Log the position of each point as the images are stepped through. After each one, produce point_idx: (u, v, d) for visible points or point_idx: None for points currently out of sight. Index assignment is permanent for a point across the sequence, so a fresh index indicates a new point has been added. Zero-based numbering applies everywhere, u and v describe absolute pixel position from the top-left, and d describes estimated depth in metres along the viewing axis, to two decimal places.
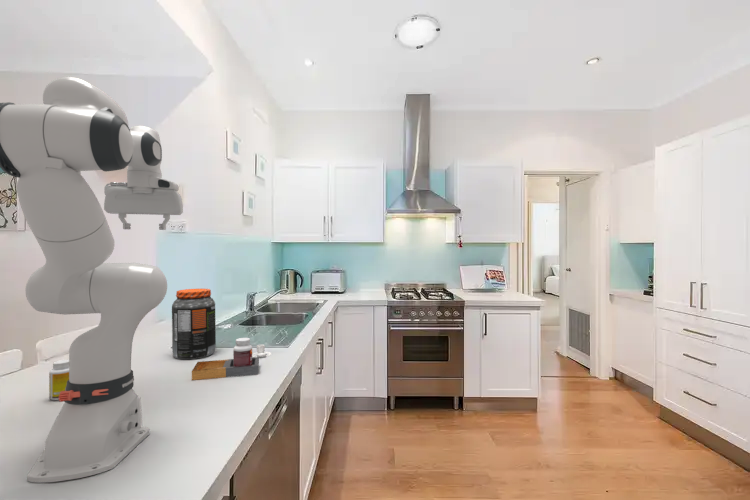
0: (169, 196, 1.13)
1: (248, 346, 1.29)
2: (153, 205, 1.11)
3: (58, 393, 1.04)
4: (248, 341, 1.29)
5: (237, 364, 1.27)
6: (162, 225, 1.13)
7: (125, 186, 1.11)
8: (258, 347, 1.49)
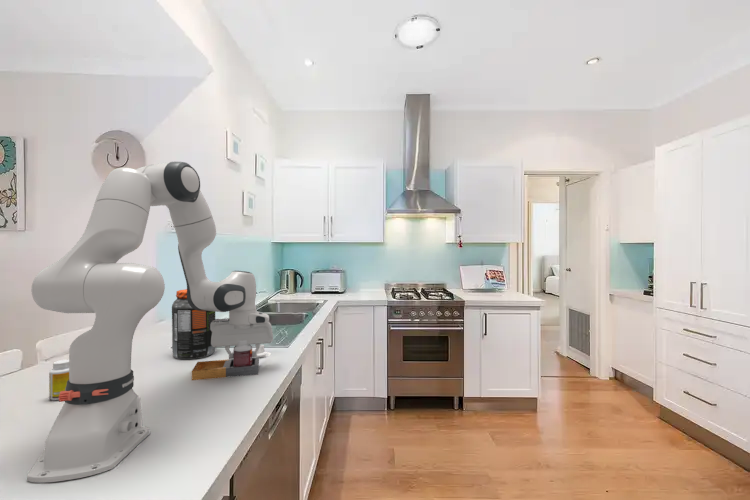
0: (263, 328, 1.30)
1: (248, 346, 1.29)
2: (251, 337, 1.29)
3: (58, 393, 1.04)
4: None
5: (237, 364, 1.27)
6: (254, 353, 1.30)
7: (227, 322, 1.28)
8: None
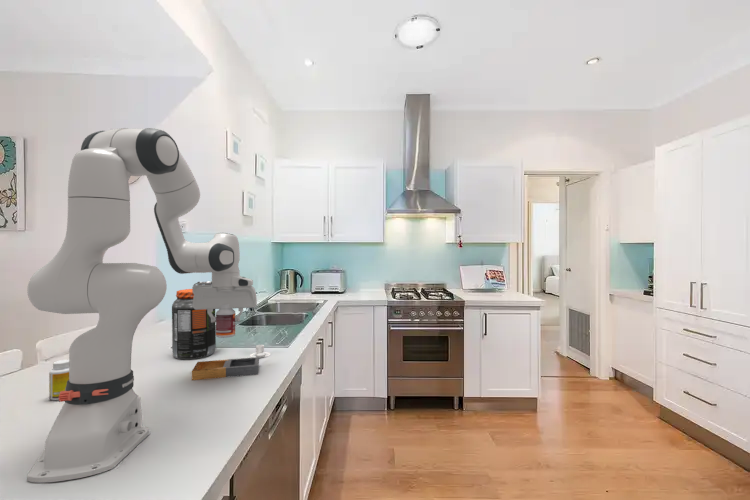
0: (246, 292, 1.28)
1: (231, 310, 1.27)
2: (233, 301, 1.27)
3: (58, 393, 1.04)
4: None
5: (220, 328, 1.25)
6: (237, 318, 1.28)
7: (210, 285, 1.26)
8: (257, 347, 1.48)
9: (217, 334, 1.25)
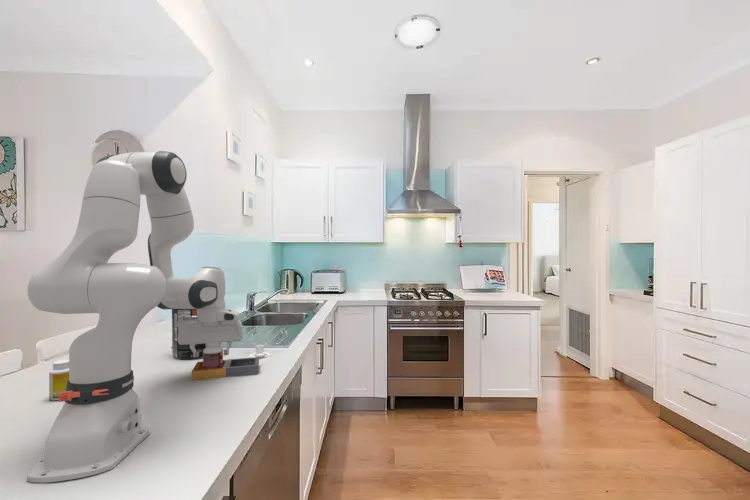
0: (232, 326, 1.27)
1: (218, 348, 1.26)
2: (219, 335, 1.26)
3: (58, 393, 1.04)
4: (218, 343, 1.26)
5: (207, 367, 1.24)
6: (226, 351, 1.27)
7: (195, 319, 1.25)
8: (257, 347, 1.48)
9: None
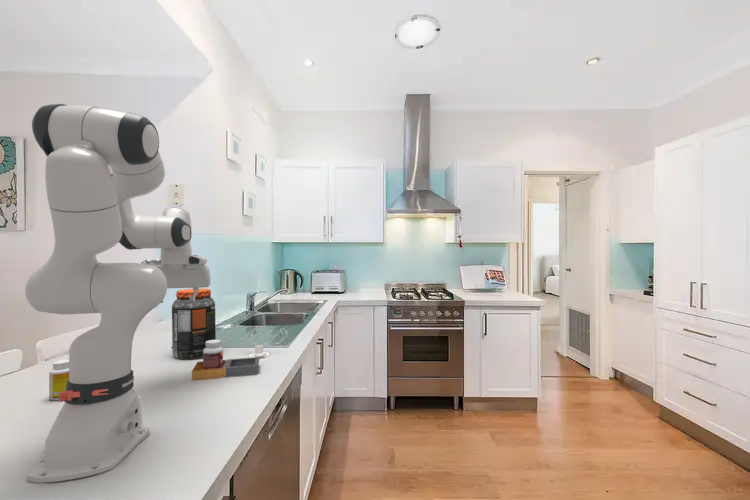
0: (198, 271, 1.21)
1: (218, 348, 1.26)
2: (184, 280, 1.20)
3: (58, 393, 1.04)
4: (218, 343, 1.26)
5: (207, 367, 1.24)
6: (192, 298, 1.21)
7: (158, 263, 1.19)
8: (257, 347, 1.48)
9: None
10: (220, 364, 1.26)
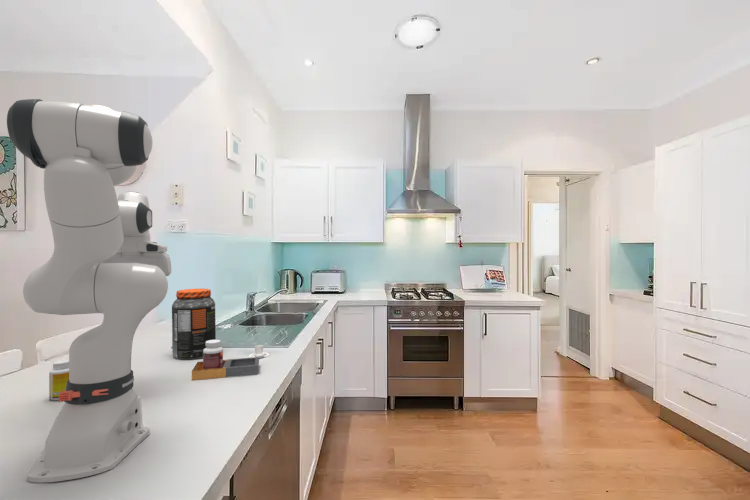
0: (157, 259, 1.15)
1: (218, 348, 1.26)
2: None
3: (58, 393, 1.04)
4: (218, 343, 1.26)
5: (207, 367, 1.24)
6: None
7: None
8: (256, 348, 1.48)
9: None
10: (220, 364, 1.26)
